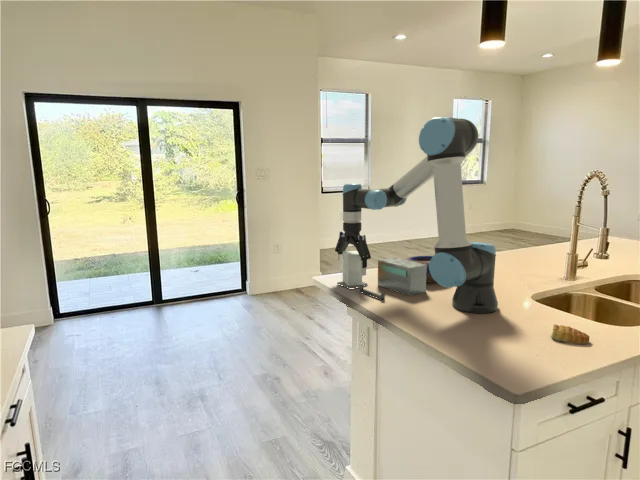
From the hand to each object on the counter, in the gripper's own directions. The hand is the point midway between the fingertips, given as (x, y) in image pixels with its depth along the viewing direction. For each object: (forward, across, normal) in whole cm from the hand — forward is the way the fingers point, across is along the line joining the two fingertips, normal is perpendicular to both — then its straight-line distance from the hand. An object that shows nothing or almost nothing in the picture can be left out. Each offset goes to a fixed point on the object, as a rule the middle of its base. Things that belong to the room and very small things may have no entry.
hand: (352, 272), depth 176 cm
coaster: (+6, 0, 0) cm, 6 cm away
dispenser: (+6, -16, -6) cm, 18 cm away
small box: (+5, 0, 0) cm, 5 cm away
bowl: (+6, -13, -31) cm, 34 cm away
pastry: (+6, -80, -14) cm, 81 cm away
